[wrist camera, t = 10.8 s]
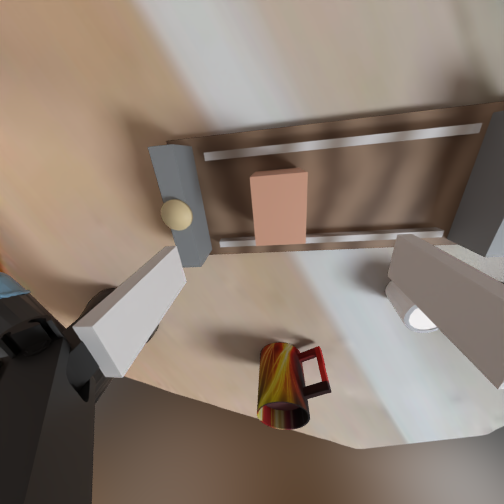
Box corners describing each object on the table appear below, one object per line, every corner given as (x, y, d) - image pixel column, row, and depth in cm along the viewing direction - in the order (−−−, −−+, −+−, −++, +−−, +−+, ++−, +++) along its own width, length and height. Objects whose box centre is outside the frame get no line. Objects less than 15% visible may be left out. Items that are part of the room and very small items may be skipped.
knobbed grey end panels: (193, 250, 35) (177, 269, 29) (168, 149, 28) (140, 147, 22) (472, 237, 29) (522, 258, 24) (528, 108, 22) (619, 91, 17)
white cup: (380, 277, 35) (403, 303, 29) (424, 268, 33) (459, 294, 27) (382, 306, 38) (404, 336, 31) (423, 299, 36) (454, 329, 30)
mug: (320, 343, 43) (337, 404, 33) (286, 374, 49) (290, 434, 39) (283, 325, 42) (288, 383, 31) (253, 359, 48) (247, 418, 37)
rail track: (196, 252, 36) (191, 259, 34) (169, 141, 28) (161, 140, 26) (464, 241, 31) (479, 248, 29) (522, 100, 23) (549, 94, 21)
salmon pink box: (259, 225, 31) (255, 246, 24) (255, 171, 28) (249, 177, 21) (297, 223, 31) (305, 243, 23) (298, 167, 27) (307, 172, 20)
